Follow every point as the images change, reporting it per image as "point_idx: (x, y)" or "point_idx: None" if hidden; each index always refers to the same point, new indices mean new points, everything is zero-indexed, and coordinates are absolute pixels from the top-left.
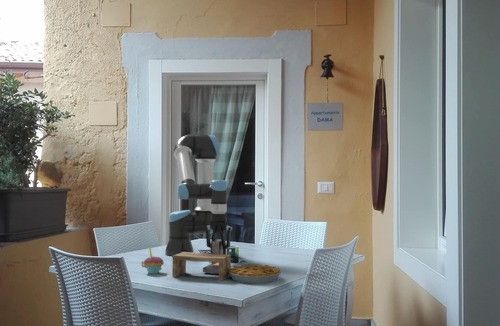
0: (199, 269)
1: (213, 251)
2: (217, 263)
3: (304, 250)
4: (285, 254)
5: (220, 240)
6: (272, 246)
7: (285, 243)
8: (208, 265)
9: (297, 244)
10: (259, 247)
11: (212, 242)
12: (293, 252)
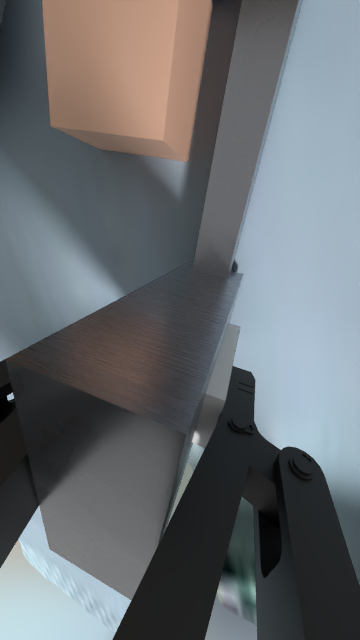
0: (352, 207)
1: (203, 309)
2: (152, 78)
3: (23, 532)
4: (39, 507)
5: (57, 497)
6: (102, 597)
7: (86, 607)
8: (262, 115)
9: (61, 588)
10: (128, 603)
11: (180, 403)
12: (33, 522)
